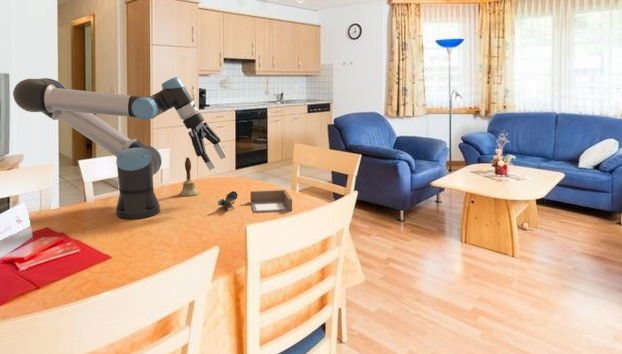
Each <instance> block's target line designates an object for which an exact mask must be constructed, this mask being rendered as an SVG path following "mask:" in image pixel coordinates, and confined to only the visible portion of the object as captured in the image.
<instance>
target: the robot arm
mask: <svg viewBox="0 0 622 354" xmlns="http://www.w3.org/2000/svg"><path fill="white" fill-rule="evenodd" d="M160 86H161V88H162V89H161V90H159V91H158V92H156V93H154V94H151V95H150V96H140V95H139V96H137V95H128V94H119V93H111V92H110V93H109V92H107V93H106V92H98V91H89V90H82V89H81V90H79V89H70V88H66V86H65V85H64V84H63V83H61V82H60V81H58V80H56V79H52V78H49V77H44V78H43V77H42V78H26V79H23V80H21V81H19V82H18V83H16V85H15V86H14V88H13V91H12V96H13V99H14V102H15V104H16V105H17V106H18V107H19V108H21V109H22V110H24V111H25V112H30V113H43V114H44V115H45V116H47V117H49V118H50V119H52V120H53V121H56V120H60V121H62V122H63V123H65V124H66V125H68V126H69V127H71V128H72V129H74V130H75V131H77V132H78V133H80V134H81V135H83V136H84V137H85V138H86V139H89V140H91V142H94V144H96V145H98V146H99V147H101V148H102V149H104V150H105V151H107V152H108V153H110V154H111V155H113V156H114V157H115V158H116V163H115V164H116V169H117V178H118V189H119V196H118V199H117V204H116V207H115V215H116V217H118V218H120V219H124V220H127V219H128V220H130V219H131V220H133V219H136V220H137V219H145V218H149V217H153V216H156V215H157V214H159V213H160V212H161V209H160V208H161V206H160V203H159V200H158V198H157V195H156V192H155V191H154V179H153V177H154V175H155V174H157V173H158V171H159V170H160V169H161V166H162V163H163V162H162V155H161V153H160V152H159V150H157V148H155V147H154V146H151V145H146V144H145V143H143V142H142V141H140V140H139V139H137V138H134V139H130V138H129V137H127V136H126V135H125V134H123V133H122V132H120V131H119V130H117V129H116V128H114V127H112V125H110V124H108V123H107V122H105V121H104V120H103V119H101V118H100V117H98V115H105V116H118V117H127V118H129V117H130V118H137V119H139V120H145V121H150V120H151V119H154V118H156V117H158V116H159V115H161V114H164V113H166V112H167V111H169V110H171V109H173V108H174V109H175V111H176V113H177V115H178V116H179V118H180V120H182V123H183V125H184V126H185V128H186V129H187V130H190V131H188V136H189V137H190V140H191V143H192V146H193V149H194V152H195V155H196V156H197V157H201V158H202V160H203V162H204V164H205V165H206V168H207V169H208V170H209V171H211V170H213V169H215V168H216V165H215V163H214V161H213V160H212V158H211V156H210V155H209V153H208V152H206V147H205V142H204V138H205V139H206V140H207V141H209V143H211V144H212V145H213V148H214V150H215V152H216V153H217V155H218V157H219V158H220V160H223V159H225V158H227V157H228V155H227V154H226V152H225V151H224V149H223V147H222V145H221V144H220V142H222V141H221V138H220V137H219V135H217V133H215V131H214V129H212V127H210V126H209V124H208V123H207V122H206V121H205V119H204V117H203V115H202V114H201V112H198V111H199V109H198V107H197V104H196V103H195V101H194V100H193V98H192V95H191V94H190V93H189V91H188V89H187V88H186V86H185V85H184V83H183V81H182V80H181V79H180V77H178V76H174V77H171V78H169V79H167V80H165V81H164V82H163V83H161V85H160ZM204 121H205V122H204Z"/></svg>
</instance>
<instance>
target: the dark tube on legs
mask: <svg viewBox="0 0 622 354" xmlns="http://www.w3.org/2000/svg"><path fill="white" fill-rule="evenodd" d="M225 196H226V197H225V199H224V198H221V199H219V200H218V201H217V205H218V206H221V207H222V208H225V209H224V210H225V213H227V211H228V210H229V208H231V209H233V210H235V207H234V204H235V202H236V200H237V199H238V193H237V192H236V191H234V190H233V191H230V192H229V193H227V195H225Z"/></svg>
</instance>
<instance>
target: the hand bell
mask: <svg viewBox="0 0 622 354" xmlns="http://www.w3.org/2000/svg"><path fill="white" fill-rule="evenodd" d="M184 169H185V171H186V179H185V181H183V185H182V189H181V191H179V196H180V197H194V196H198V195H199V194H200V192H199V191H198V190H197V188H196V186H195V185H196V184H195V181H193V180H192V179H191V169H192V162H191V159H190V157H185V162H184Z"/></svg>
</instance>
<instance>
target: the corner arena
mask: <svg viewBox="0 0 622 354" xmlns="http://www.w3.org/2000/svg"><path fill="white" fill-rule="evenodd" d="M249 192H250V204H251V207H252V211H253V213H254V214H256V213H274V212H276V213H277V212H292V211H293V198H292V197H291V195H290V194H289V192H288V191H287V190H286V189H276V190H275V189H272V190H271V189H270V190H250V191H249Z"/></svg>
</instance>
